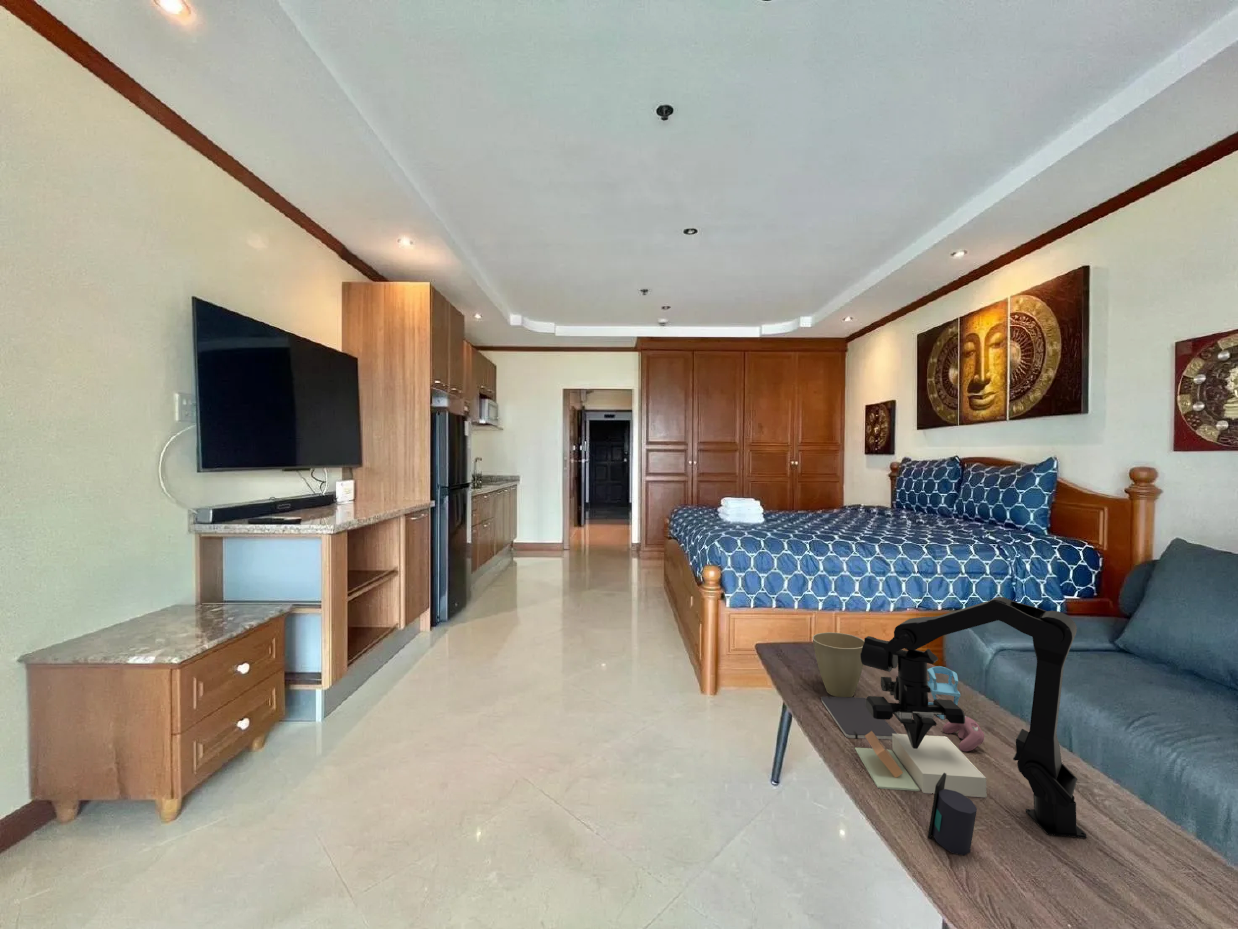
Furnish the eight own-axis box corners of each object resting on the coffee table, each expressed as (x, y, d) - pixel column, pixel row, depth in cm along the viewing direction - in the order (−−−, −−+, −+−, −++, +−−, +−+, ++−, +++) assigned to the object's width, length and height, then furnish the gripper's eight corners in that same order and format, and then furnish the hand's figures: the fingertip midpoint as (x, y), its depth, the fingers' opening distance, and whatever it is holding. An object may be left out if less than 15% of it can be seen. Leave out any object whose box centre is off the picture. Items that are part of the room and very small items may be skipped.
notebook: (899, 742, 124) (865, 702, 145) (899, 735, 124) (865, 697, 145) (846, 740, 125) (820, 701, 146) (846, 734, 125) (820, 696, 146)
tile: (884, 749, 108) (876, 755, 109) (903, 772, 108) (895, 778, 108) (871, 730, 116) (864, 735, 116) (889, 752, 116) (882, 757, 116)
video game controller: (978, 760, 117) (992, 734, 117) (958, 750, 118) (972, 724, 118) (957, 738, 127) (970, 714, 126) (939, 729, 128) (952, 705, 127)
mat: (919, 791, 104) (919, 789, 104) (877, 788, 105) (877, 786, 105) (891, 751, 119) (891, 749, 119) (854, 749, 120) (854, 747, 120)
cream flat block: (986, 797, 102) (986, 777, 102) (923, 793, 103) (922, 773, 103) (946, 753, 117) (946, 736, 118) (892, 750, 119) (892, 733, 119)
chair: (931, 718, 134) (930, 674, 134) (923, 704, 142) (922, 662, 142) (965, 722, 132) (964, 677, 132) (955, 708, 140) (954, 665, 140)
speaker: (915, 830, 92) (921, 777, 92) (936, 823, 95) (942, 771, 94) (957, 864, 85) (963, 806, 85) (978, 855, 88) (985, 799, 87)
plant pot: (875, 705, 142) (873, 649, 142) (820, 703, 144) (818, 647, 144) (858, 683, 156) (857, 632, 157) (809, 681, 159) (807, 631, 159)
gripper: (940, 665, 118) (941, 731, 118) (856, 662, 121) (858, 726, 121) (965, 685, 107) (967, 758, 107) (873, 681, 110) (874, 752, 110)
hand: (914, 747), depth 111 cm, fingers closed
